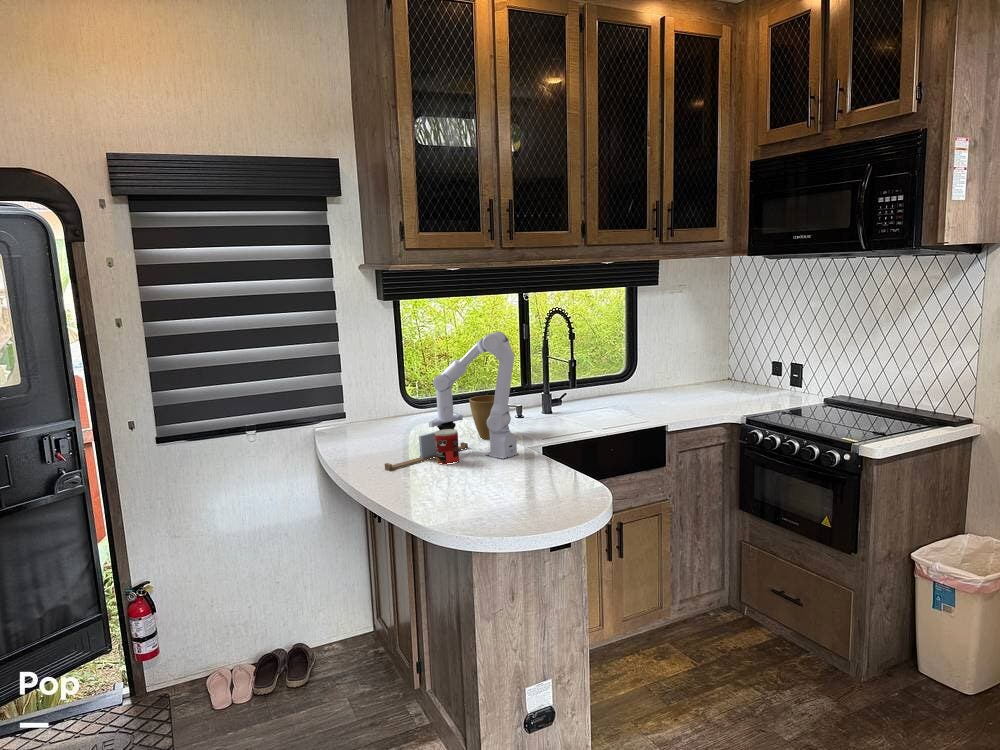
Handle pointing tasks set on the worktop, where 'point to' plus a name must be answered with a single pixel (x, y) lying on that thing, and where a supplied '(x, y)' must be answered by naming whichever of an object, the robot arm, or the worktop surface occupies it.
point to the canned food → (447, 446)
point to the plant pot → (482, 413)
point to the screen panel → (427, 445)
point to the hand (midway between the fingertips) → (447, 442)
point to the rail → (416, 460)
